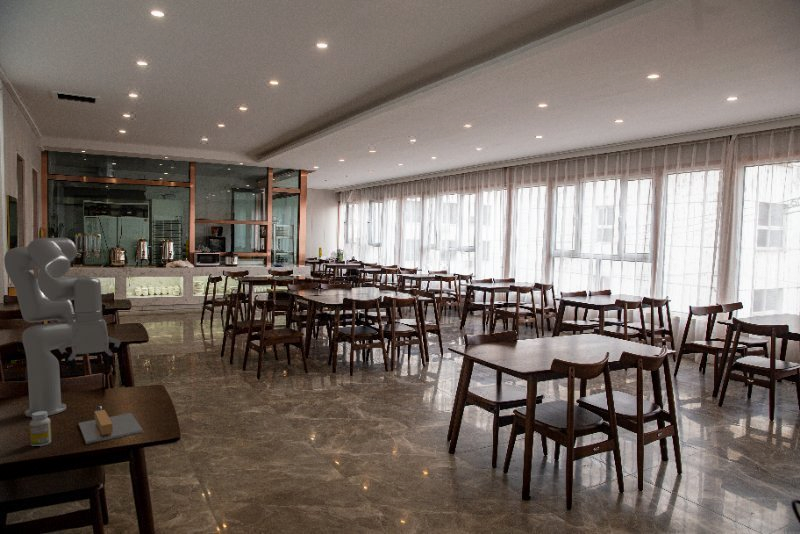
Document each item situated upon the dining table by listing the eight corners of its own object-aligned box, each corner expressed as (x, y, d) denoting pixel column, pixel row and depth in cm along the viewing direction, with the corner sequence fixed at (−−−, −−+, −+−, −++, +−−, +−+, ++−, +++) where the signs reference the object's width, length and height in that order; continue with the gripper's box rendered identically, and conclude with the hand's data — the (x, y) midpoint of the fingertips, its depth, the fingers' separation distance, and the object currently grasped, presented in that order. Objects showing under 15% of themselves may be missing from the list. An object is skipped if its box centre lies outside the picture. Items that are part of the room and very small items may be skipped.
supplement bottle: (44, 447, 164) (42, 416, 163) (26, 447, 164) (24, 416, 163) (55, 440, 169) (53, 410, 168) (38, 440, 169) (36, 410, 169)
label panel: (78, 425, 182) (77, 409, 181) (131, 415, 191) (130, 399, 191) (86, 444, 166) (85, 426, 165) (143, 432, 175) (142, 415, 175)
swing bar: (94, 420, 182) (94, 411, 182) (104, 418, 184) (104, 409, 184) (102, 435, 169) (101, 425, 169) (112, 432, 171) (112, 423, 171)
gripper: (56, 321, 165) (59, 376, 166) (120, 315, 174) (122, 368, 175) (57, 317, 172) (60, 371, 173) (118, 312, 180) (121, 363, 182)
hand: (91, 369), depth 174 cm, fingers open, 9 cm apart
